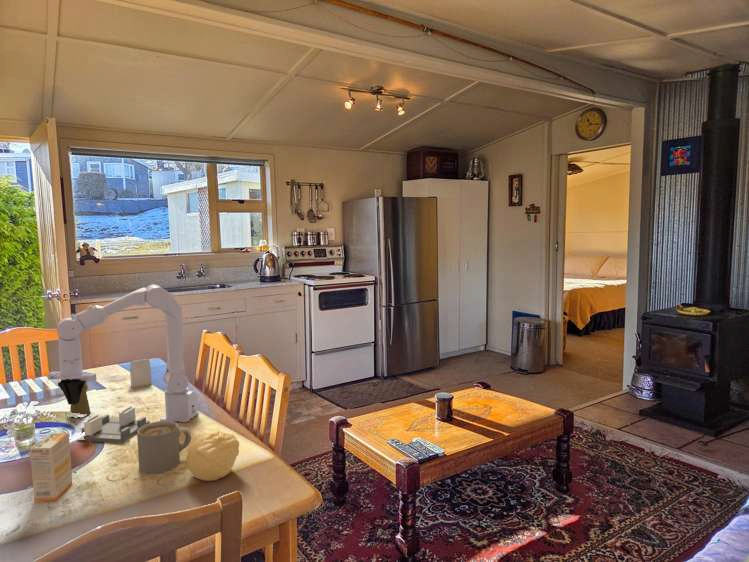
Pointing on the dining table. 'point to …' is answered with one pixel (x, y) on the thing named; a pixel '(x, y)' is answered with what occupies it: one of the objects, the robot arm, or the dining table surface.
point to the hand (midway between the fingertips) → (73, 403)
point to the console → (115, 430)
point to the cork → (82, 403)
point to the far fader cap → (127, 416)
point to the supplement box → (51, 466)
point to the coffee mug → (160, 446)
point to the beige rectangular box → (140, 373)
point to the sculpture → (212, 455)
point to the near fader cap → (93, 425)
